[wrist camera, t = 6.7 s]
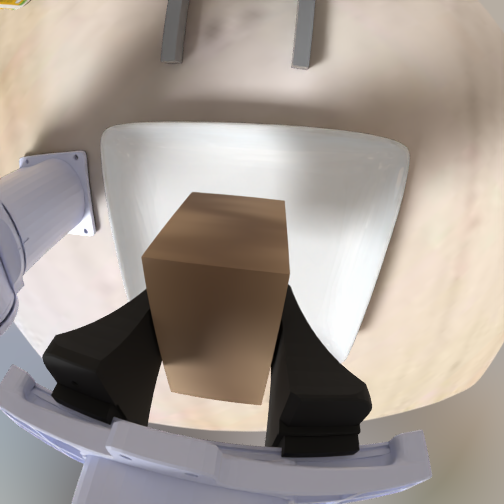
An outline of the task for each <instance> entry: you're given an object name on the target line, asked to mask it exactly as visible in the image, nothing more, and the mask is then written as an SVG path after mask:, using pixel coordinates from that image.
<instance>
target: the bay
mask: <svg viewBox="0 0 504 504" xmlns="http://www.w3.org/2000/svg"><path fill="white" fill-rule="evenodd" d="M188 6H189V0H168V5H167V11H166V18H165V25H164V33H163V42H162V52H161V62H164V63H168V64H171V63H182V55H183V46H184V36H185V28H186V20H187V13H188ZM314 9H315V0H298V7H297V18H296V28H295V38H294V47H293V57H292V66H291V68H297V69H303V70H307V69H308V68H309V61H310V52H311V42H312V32H313V21H314Z"/></svg>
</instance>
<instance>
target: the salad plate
mask: <svg viewBox="0 0 504 504" xmlns="http://www.w3.org/2000/svg"><path fill="white" fill-rule="evenodd" d="M100 150H101V164H102V174H103V182H104V188H105V196H106V202H107V208H108V214H109V219H110V225H111V230H112V235H113V240H114V244H115V249H116V254H117V258H118V263H119V267H120V271H121V275H122V279H123V284H124V288H125V292H126V296H127V300H128V302H129V301H131V300H132V299H133V298H135V297H136V296H138V295H139V294H140V293H141V292H143V291H144V290H145V289H146V283H145V277H144V271H143V265H142V259H141V256H142V255H143V254H144V252H145V251H146V250H147V248H148V247H149V246H150V244H151V243H152V242H153V240H154V239H155V238H156V236H157V235H158V234H159V232H160V231H161V230H162V228H163V227H164V226H165V225H166V223H167V222H168V221H169V220H170V218H171V217H172V216H173V215H174V213H175V212H176V211H177V210H178V208H179V207H180V206H181V205H182V203H183V202H184V201H185V200H186V198H187V197H188V196H189V195H190V194H191V192H201V193H214V194H225V195H236V196H247V197H257V198H266V199H275V200H284V201H285V210H286V222H287V235H288V250H289V265H290V277H289V282H288V284H289V285H290V286H291V288H292V291H293V294H294V296H295V298H296V301H297V303H298V305H299V307H300V309H301V311H302V313H303V314H304V316H305V318H306V320H307V322H308V323H309V325H310V326H311V328H312V330H313V331H314V333H315V334H316V336H317V337H318V338H319V340H320V341H321V342H322V344H323V345H324V346H325V347H326V348H327V350H328V351H329V352H330V353H331V354H332V355H333V356H334V357H335V358H336V359H337V360H338V361H339V362H340V363H342V362H344V361H345V360H346V358H347V357H348V355H349V352H350V350H351V348H352V346H353V344H354V341H355V339H356V336H357V334H358V331H359V328H360V326H361V323H362V321H363V318H364V315H365V313H366V310H367V307H368V304H369V301H370V298H371V296H372V293H373V290H374V287H375V285H376V282H377V279H378V276H379V273H380V270H381V267H382V263H383V260H384V257H385V254H386V251H387V248H388V245H389V242H390V239H391V236H392V233H393V229H394V226H395V223H396V220H397V216H398V213H399V209H400V205H401V202H402V198H403V194H404V190H405V185H406V180H407V175H408V169H409V162H410V155H409V150H408V148H407V147H406V146H404V145H403V144H401V143H400V142H397V141H395V140H392V139H388V138H384V137H380V136H375V135H371V134H366V133H360V132H351V131H345V130H336V129H326V128H316V127H304V126H291V125H277V124H256V123H234V122H185V121H180V122H138V123H127V124H119V125H115V126H111V127H109V128H107V129H106V130H105V131H104V132H103V134H102V136H101V141H100Z"/></svg>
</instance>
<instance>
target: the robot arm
mask: <svg viewBox="0 0 504 504" xmlns="http://www.w3.org/2000/svg"><path fill="white" fill-rule="evenodd" d="M76 155H77V156H78V159H77V158H76ZM28 161H29V162H28ZM19 165H20V168H19V169H17V170H15V171H13V172H11V173H9V174H7V175H5V176H3V177H1V178H0V336H1V335H3V334H4V333H5V332H6V331H7V329H8V328H9V327H10V325H11V324H12V322H13V321H14V319H15V317H16V314H17V311H18V306H19V301H18V297H17V293H18V292H19V291H20V289H21V288H22V287H23V286H24V282H23V275H24V274H25V273H26V272H27V271H28V270H29V269H30V268H31V267H32V266H33V265H34V264H35V263H36V262H37V261H38V260H39V259H40V258H41V257H42V256H43V255H44V254H45V253H46V252H47V251H49V250H50V249H51V248H52V247H53V246H54V245H55V244H56V243H57V242H58V241H60V240H61V239H62V238H63V237H64V236H65V235H66V234H68V233H69V234H77V235H85V236H93V235H94V234H95V233H96V228H95V222H94V216H93V210H92V203H91V195H90V187H89V178H88V168H87V156H86V153H85V152H84V151H70V152H59V153H49V154H40V155H32V156H25V157H22V158H20V160H19ZM86 229H87V230H88V231H87V230H86ZM42 358H43V362H44V364H45V366H46V368H47V369H48V370H49V372H50V373H51V375H52V376H53V377H54V379H55V380H56V382H57V385H56V387H55V388H54V390H53V391H51V390H48V389H47V388H45V387H43V386H41V385H39V384H37V383H35V380H34V379H33V378H32V377H31V375H30V374H28V373H27V372H26V371H24V370H22V369H21V368H19V367H17V366H15V365H12V366H11V367H10V369H9V370H8V372H7V373H6V375H5V377H4V379H3V380H2V382H1V384H0V409H1V410H2V411H3V412H4V413H5V414H6V415H7V416H8V417H10V418H11V419H12V420H13V421H14V422H15V423H16V424H17V425H19V426H20V427H22V428H23V429H25V430H26V431H28V432H29V433H31V434H32V435H34V436H35V437H37V438H39V439H40V440H42V441H43V442H45V443H46V444H48V445H50V446H51V447H53V448H55V449H57V450H58V451H60V452H62V453H64V454H65V455H67V456H69V457H71V458H73V459H75V460H77V461H78V462H80V463H83V464H84V465H83V468H82V471H81V474H80V477H79V480H78V484H77V487H76V490H75V493H74V496H73V500H72V503H71V504H343V503H350V502H356V501H361V500H366V499H371V498H376V497H381V496H385V495H389V494H394V493H397V492H401V491H404V490H406V489H408V488H411V487H413V486H415V485H417V484H419V483H421V482H423V481H425V480H427V479H429V478H431V477H432V472H431V466H430V461H429V456H428V451H427V446H426V442H425V437H424V433H423V430H416V431H411V432H406V433H401V434H398V435H396V436H394V437H393V438H392V439H391V440H390V441H389V442H382V443H375V444H368V445H359V440H358V434H359V433H360V423H361V422H362V421H363V420H364V419H365V418H366V417H367V415H368V414H369V413H370V411H371V410H372V403H371V398H370V394H369V391H368V389H367V386H366V384H365V383H364V382H363V381H361V380H360V379H359V378H357V377H356V376H355V375H353V374H352V373H351V372H350V371H348V370H347V369H346V368H345V367H344V366H343V365H342V364H341V363H340V362H339V361H338V360H337V359H336V358H335V357H334V356H333V355H332V354H331V353H330V352H329V351H328V350H327V348H326V347H325V346H324V345H323V344H322V342H321V341H320V340H319V338H318V337H317V336H316V334H315V333H314V331H313V330H312V328H311V326H310V325H309V323H308V322H307V320H306V318H305V316H304V314H303V313H302V311H301V309H300V307H299V305H298V303H297V301H296V298H295V296H294V294H293V291H292V288H291V286H290V285H289V284H288V288H287V293H286V297H285V302H284V307H283V312H282V317H281V322H280V326H279V331H278V335H277V340H276V344H275V349H274V353H273V358H272V362H271V387H270V400H269V412H268V422H267V433H266V441H265V447H261V446H249V445H238V444H231V443H223V442H216V441H209V440H203V439H197V438H193V437H187V436H183V435H178V434H173V433H169V432H165V431H161V430H157V429H153V428H149V427H147V426H148V419H149V413H150V408H151V403H152V398H153V393H154V389H155V384H156V380H157V376H158V373H159V369H160V365H161V362H162V357H161V353H160V349H159V345H158V341H157V337H156V333H155V328H154V324H153V319H152V314H151V310H150V305H149V299H148V294H147V289H145V290H144V291H143V292H141V293H140V294H139V295H138V296H136V297H135V298H133V299H132V300H131V301H129V302H128V303H127V304H125V305H124V306H122V307H121V308H119V309H117V310H116V311H114V312H112V313H111V314H109V315H107V316H105V317H103V318H101V319H99V320H97V321H95V322H93V323H91V324H88V325H86V326H83V327H81V328H78V329H75V330H72V331H69V332H66V333H62V334H59V335H56V336H55V337H54V339H53V340H52V342H51V343H50V345H49V346H48V348H47V349H46V351H45V352H44V354H43V357H42Z"/></svg>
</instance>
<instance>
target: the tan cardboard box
mask: <svg viewBox="0 0 504 504" xmlns="http://www.w3.org/2000/svg"><path fill="white" fill-rule="evenodd" d="M141 259H142V265H143V271H144V277H145V283H146V289H147V294H148V299H149V305H150V310H151V314H152V319H153V324H154V328H155V333H156V337H157V341H158V345H159V349H160V353H161V357H162V361H163V365H164V369H165V372H166V376H167V379H168V383H169V386H170V390H171V392H175V393H180V394H185V395H190V396H195V397H201V398H207V399H214V400H220V401H228V402H235V403H244V404H254V405H261V404H262V400H263V396H264V392H265V387H266V383H267V379H268V375H269V371H270V366H271V362H272V358H273V353H274V349H275V344H276V340H277V335H278V331H279V326H280V322H281V317H282V312H283V307H284V302H285V297H286V293H287V288H288V282H289V277H290V265H289V250H288V235H287V222H286V210H285V201H284V200H275V199H266V198H257V197H247V196H236V195H225V194H214V193H201V192H191V194H190V195H189V196H188V197H187V198H186V200H185V201H184V202H183V203H182V205H181V206H180V207H179V208H178V210H177V211H176V212H175V213H174V215H173V216H172V217H171V218H170V220H169V221H168V222H167V223H166V225H165V226H164V227H163V228H162V230H161V231H160V232H159V234H158V235H157V236H156V238H155V239H154V240H153V242H152V243H151V244H150V246H149V247H148V248H147V250H146V251H145V252H144V254H143V255H142V256H141Z"/></svg>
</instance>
